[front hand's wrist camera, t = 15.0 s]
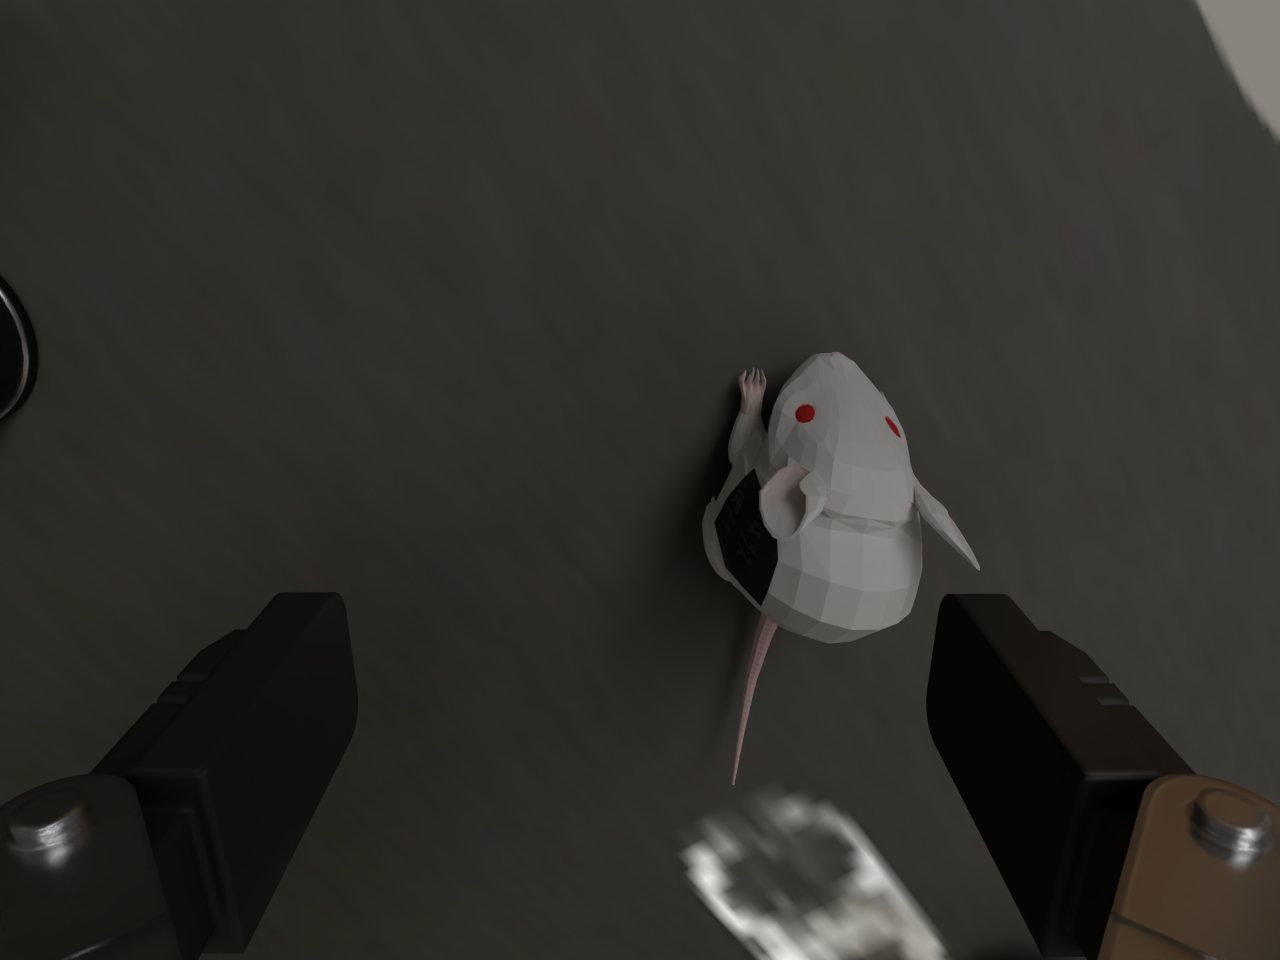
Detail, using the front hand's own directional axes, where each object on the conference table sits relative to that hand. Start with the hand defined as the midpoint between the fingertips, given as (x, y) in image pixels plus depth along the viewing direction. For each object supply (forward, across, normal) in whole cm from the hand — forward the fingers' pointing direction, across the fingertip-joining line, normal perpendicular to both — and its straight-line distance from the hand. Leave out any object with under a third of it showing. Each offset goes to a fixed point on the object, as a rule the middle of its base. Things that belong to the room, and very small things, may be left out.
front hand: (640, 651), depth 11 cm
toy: (+30, -7, +13) cm, 34 cm away
